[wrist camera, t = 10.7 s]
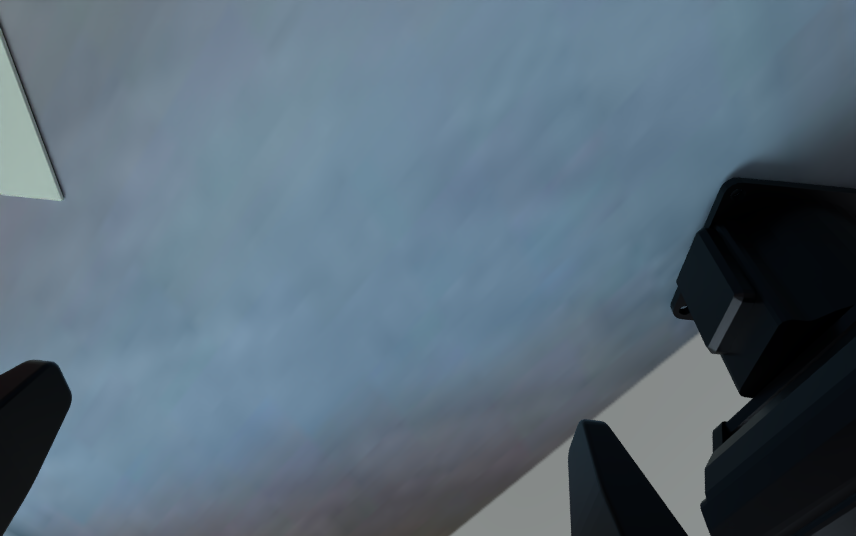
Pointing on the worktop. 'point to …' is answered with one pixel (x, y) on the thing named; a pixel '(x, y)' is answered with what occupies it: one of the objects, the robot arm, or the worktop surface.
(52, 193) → the mat
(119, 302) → the worktop surface
